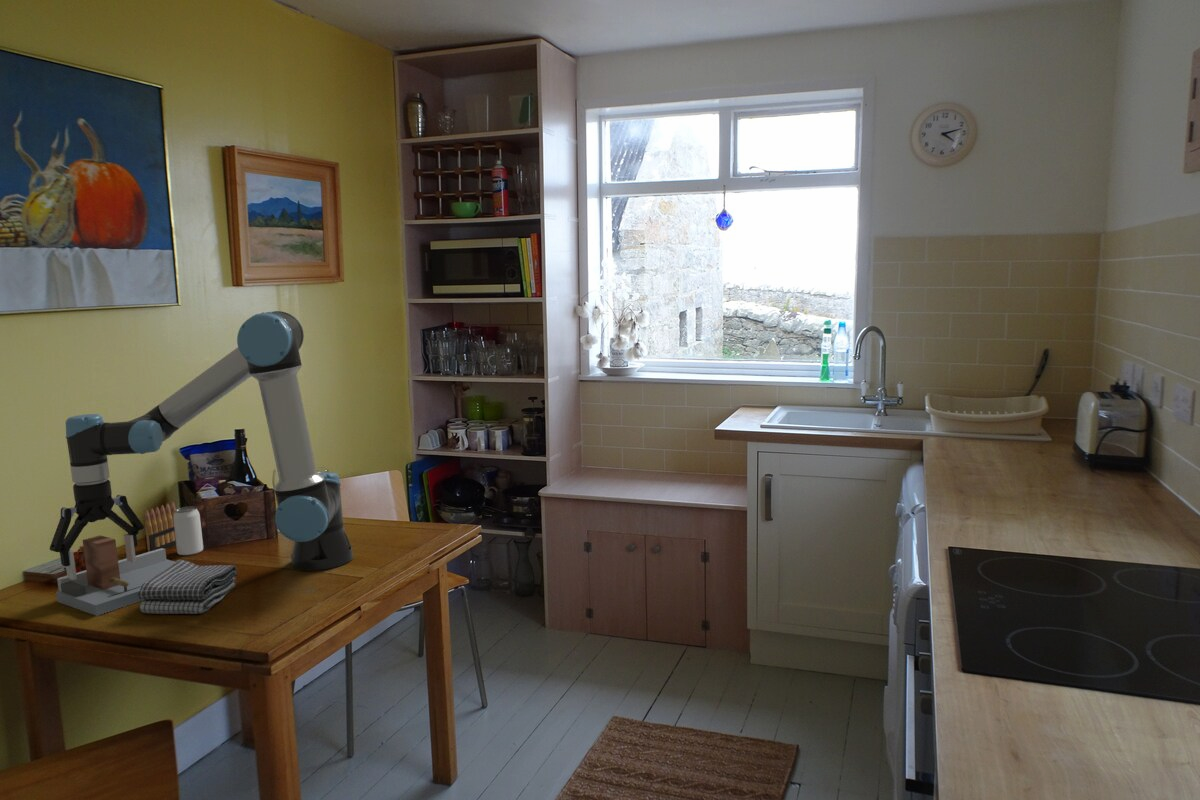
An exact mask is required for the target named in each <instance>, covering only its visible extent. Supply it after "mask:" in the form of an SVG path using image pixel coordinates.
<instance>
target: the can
mask: <svg viewBox="0 0 1200 800" xmlns="http://www.w3.org/2000/svg"><path fill="white" fill-rule="evenodd" d="M174 512H175V513H174V516H173V520H174V529H175V538H176V545H175V547H176V553H177V554H178V555H179V556H182V557H183V556H184V557H185V556H193V555H197V554H199V553H202V551H203V550H204V541H203V532H202V531H203V530H202V525H201V524H202V523H201V515H200V512H199V510H198V507H197V506H183V507H178V508H176V510H175V511H174Z"/></svg>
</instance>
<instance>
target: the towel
mask: <svg viewBox="0 0 1200 800" xmlns="http://www.w3.org/2000/svg"><path fill="white" fill-rule="evenodd" d="M236 571H237V567H236V565H234V564H231V565H230V564H227V565H225V564H222V565H221V564H217V565H216V564H214V565H211V564H209V565H198V564H195V563H193V562H191V561H188V560H183V559H178V560H176V561H175V563H174V564H172V565H171V566H170V567H168V568H167V569H165V570H163V571H162V572H160V573H158V574H157V575H155V576H154V577H153V578H151V579H149V580H147V581H146V582H145V583H144V584H143V585H142V587H141V589H140V591H139V593H138V597H139V599H144V600H143V601H141V602H140V605H139V610H140V612H141V613H142V614H143V613H144V614H149V615H150V614H151V615H172V614H173V615H175V614H176V615H198V614H204V613H207V612H208V611H209V610H211V609H212V608H213V607H214V606H215V605H216V604H218V603H219V602H220V601H222V600H223V598H225V596H226V595H228V593H229V592H231V591H232V590H233V589H234V588H233V586H235V587H236V581H237V578H236V577H238V575H239V574H238V573H237V572H236ZM232 588H233V589H232ZM231 589H232V590H231ZM230 590H231V591H230Z"/></svg>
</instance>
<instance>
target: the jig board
mask: <svg viewBox="0 0 1200 800" xmlns="http://www.w3.org/2000/svg"><path fill="white" fill-rule="evenodd" d="M166 553H167V551H166V548H165V549H163V548H161V549H157V550H154V551H150V552H147V553H146V552H143V553H141V554H138V555H135V557H136V562H130V561H127V557H126V558H122V559H118V565H119V573H120V580H123V581H126V582H128V583H129V585H128V586H127V591H124V586H121V585H118V586H114V587H111V588H108V589H105V590H102V589H99V588H96V587H93V586H90V585H88V579H87V571H86V570H85V571H82V572H78V573H76V577H77V579H75V580H72V579H69V578H67V575H65V576H61V577H58V578H57V579H56V580H57V587H58V588H57V589H58V590H57V591H56V593H55V594H56V601H57V603H60V604H63V605H65V606H68V607H72V608H74V609H76V610H79V611H82V612H85V613H87V614H90V615H94V616H95V615H96V616H95V617H98V615H99V616H101V614H102V615H104V613H105V614H107V612H108V613H110V611H111V612H113V610H114V611H116V609H117V610H119V609H118V608H120V609H122V608H121V607H123V608H125V606H126V607H128V606H127V605H129V606H131V605H130V604H132V605H134V603H135V604H137V602H138V603H141V602H142V601H143V600H144V599H139V597H138V593H139V591H140V589H141V587H142V585H143V584H144V583H145V582H146V581H147V580H149V579H151V578H153V577H154V576H155V575H157V574H158V573H160V572H162V571H163V570H165V569H167V568H168V567H170V566H171V565H172V564H174V563H175V562H176V561H174V560H170V559H167V554H166ZM140 601H141V602H140Z"/></svg>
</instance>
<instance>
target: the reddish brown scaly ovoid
mask: <svg viewBox="0 0 1200 800" xmlns="http://www.w3.org/2000/svg"><path fill="white" fill-rule="evenodd" d="M73 554H74V562H75V569H76V572H77V573H78V572H82V571H85V570H86V563H85V556H84V548H83V545H80V546H79V547H78V549H77V551H73ZM63 569H64V572H65V573H66V574H67V571H66V566H63Z"/></svg>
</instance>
